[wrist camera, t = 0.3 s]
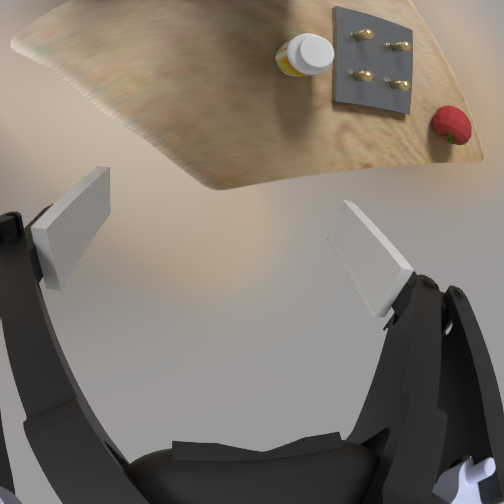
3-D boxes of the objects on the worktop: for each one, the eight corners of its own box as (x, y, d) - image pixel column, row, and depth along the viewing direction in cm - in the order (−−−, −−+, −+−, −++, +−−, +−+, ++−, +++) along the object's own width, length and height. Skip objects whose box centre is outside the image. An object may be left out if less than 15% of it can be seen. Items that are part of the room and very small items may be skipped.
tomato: (477, 110, 27) (468, 148, 29) (472, 127, 33) (464, 160, 36) (436, 93, 31) (426, 128, 34) (437, 111, 37) (428, 143, 40)
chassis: (332, 8, 25) (346, 0, 21) (407, 30, 27) (425, 28, 22) (331, 100, 34) (345, 103, 30) (404, 113, 36) (422, 118, 32)
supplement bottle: (310, 79, 32) (338, 79, 24) (272, 74, 32) (290, 69, 23) (313, 46, 29) (343, 36, 21) (276, 39, 29) (295, 25, 20)
